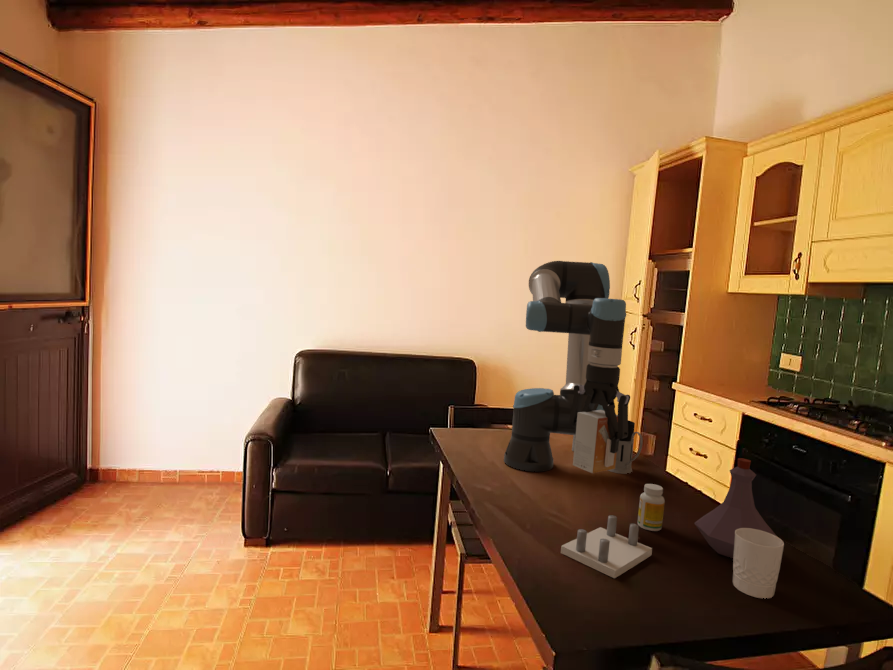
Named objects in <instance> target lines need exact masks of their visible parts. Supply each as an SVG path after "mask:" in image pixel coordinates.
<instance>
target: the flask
mask: <svg viewBox="0 0 893 670" xmlns="http://www.w3.org/2000/svg"><path fill="white" fill-rule="evenodd" d="M751 464H752V460H750V459H748V458H742V457H739V458H737V466H735V467H733V468H731V469H730V470H729V473H730V475H731V478H732V479H731V483H730V487H729V489H728V491H727V492H726V493H727V494H726V495H725V498H724V500H723V502H722V503H720V504H719V505H717V506H716V507H715V508H714V509H713V510H712V509H711V511H709V512H708V513H706V514H704V515H703V516H701V517H700V518H699V519H697V520H695V522H694V525H695V527H696V528H697V530H698V531H699V532H700V533H701V535H702V537H703V538H704V540H705V541H706V543H707V544H708V545H709V547H711V548H712V550H714V551H715V552H716V553H717V554H719V555H722V556H725V557H726V558H727V557H728V558H729V557H730V559H732V558H733V555H734V539H735V530H736V529H739V528H752V529H757V530H761V531H765V532H768V533H770V534H773V535H775V536H777V535H776V533H775V532H774V531H773V529H772V528H771V527H770V526H769V525H768V524H767V523H766V521H765V520H764V518H763V517H762V515H761V514H760V513H759V511H758V509H757V508H756V505H755V499H754V494H753V489H752V487H753V481H754V479H755V477H756V476H757V473H755V472H754V471H753V470H751V467H750V466H751Z"/></svg>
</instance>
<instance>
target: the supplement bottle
mask: <svg viewBox="0 0 893 670" xmlns="http://www.w3.org/2000/svg"><path fill="white" fill-rule="evenodd" d="M643 491H644V492H642V493H641V494H640V496H639V504H638V512H637V513H638V514H637V525H639V528H641V529H643V530H645V531H650V532H651V531H652V532H658V531H660V530H662V528H663V527H662V526H663V518H664V512H665V511H664V510H665V503H666V501H665V497H664V496H663V493H664V488H663V487H662V486H661V485H659V484H655V483H654V484H653V483H645V484H644V487H643Z"/></svg>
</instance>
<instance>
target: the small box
mask: <svg viewBox="0 0 893 670" xmlns="http://www.w3.org/2000/svg"><path fill="white" fill-rule="evenodd" d="M616 417H617V422H618V414H616ZM607 421H608V418H607V417H606V415H605V411H603V410H595V411H590V412H578V414H577V425H576V436H575V447H574V451H573V459H572V466H574V467H576V468H579V469H581V470H583V471H586V472H588V473H590V474H596V473H600V472H605V471H608V470H611V469H615V464H616V454H617V453H614V463H613V465H612V466H609V467H605V466H604V465H605V454H606V444H607V438H610V433H609V428H608V424H607Z"/></svg>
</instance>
